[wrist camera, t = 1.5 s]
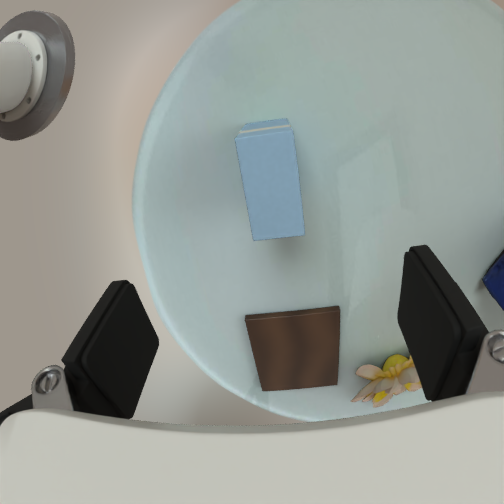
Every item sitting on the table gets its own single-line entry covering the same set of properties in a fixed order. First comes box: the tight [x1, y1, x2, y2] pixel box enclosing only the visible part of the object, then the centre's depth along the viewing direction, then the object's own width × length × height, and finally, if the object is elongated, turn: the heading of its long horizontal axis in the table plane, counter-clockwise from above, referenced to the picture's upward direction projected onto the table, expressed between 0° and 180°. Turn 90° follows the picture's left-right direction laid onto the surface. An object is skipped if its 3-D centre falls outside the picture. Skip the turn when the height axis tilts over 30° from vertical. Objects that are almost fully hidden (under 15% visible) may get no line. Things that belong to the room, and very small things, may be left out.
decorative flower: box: [350, 354, 422, 408], centre depth 40 cm, size 15×11×10 cm
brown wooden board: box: [245, 306, 340, 391], centre depth 42 cm, size 12×16×1 cm
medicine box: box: [235, 119, 305, 241], centre depth 26 cm, size 4×8×9 cm, turn 9°
